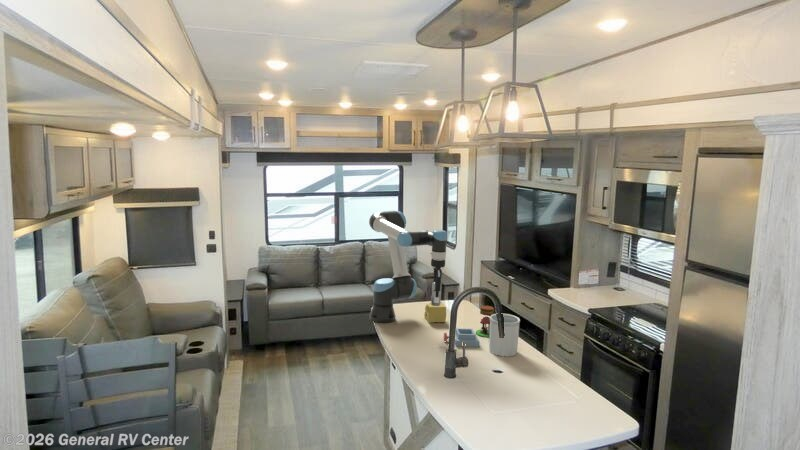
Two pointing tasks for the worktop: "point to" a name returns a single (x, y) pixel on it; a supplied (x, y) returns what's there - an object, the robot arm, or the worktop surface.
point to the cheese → (435, 313)
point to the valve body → (464, 337)
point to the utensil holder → (510, 339)
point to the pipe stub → (433, 295)
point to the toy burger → (485, 321)
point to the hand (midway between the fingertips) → (435, 301)
